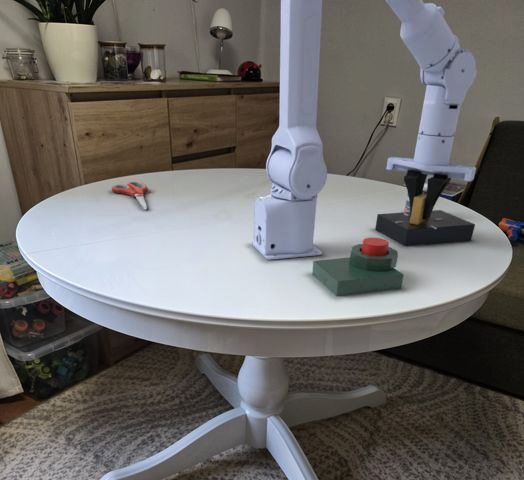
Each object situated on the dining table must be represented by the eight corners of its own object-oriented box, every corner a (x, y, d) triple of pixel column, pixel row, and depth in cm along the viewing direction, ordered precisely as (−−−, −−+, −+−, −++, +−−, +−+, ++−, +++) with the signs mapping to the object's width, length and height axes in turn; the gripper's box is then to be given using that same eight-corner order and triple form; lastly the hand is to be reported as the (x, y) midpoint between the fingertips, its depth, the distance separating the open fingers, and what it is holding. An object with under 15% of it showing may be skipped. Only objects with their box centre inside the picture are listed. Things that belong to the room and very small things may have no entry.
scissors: (144, 210, 98) (143, 203, 97) (108, 190, 113) (107, 183, 112) (178, 206, 102) (177, 199, 101) (139, 186, 117) (138, 180, 116)
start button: (369, 258, 67) (371, 246, 66) (356, 250, 70) (358, 238, 69) (391, 256, 68) (393, 244, 67) (378, 248, 71) (380, 236, 70)
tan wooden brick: (418, 225, 84) (423, 197, 82) (409, 223, 85) (414, 195, 83) (428, 218, 88) (434, 191, 86) (420, 216, 89) (425, 190, 86)
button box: (336, 296, 64) (339, 268, 62) (311, 274, 71) (313, 247, 69) (408, 288, 68) (414, 260, 66) (378, 267, 74) (382, 242, 72)
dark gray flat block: (407, 248, 83) (410, 230, 81) (375, 229, 91) (377, 213, 90) (474, 242, 87) (478, 224, 85) (437, 225, 96) (440, 209, 94)
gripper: (488, 136, 79) (467, 220, 86) (403, 128, 86) (390, 206, 93) (476, 140, 74) (455, 228, 80) (387, 131, 81) (375, 213, 88)
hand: (419, 217), depth 86 cm, fingers closed on tan wooden brick, 2 cm apart
